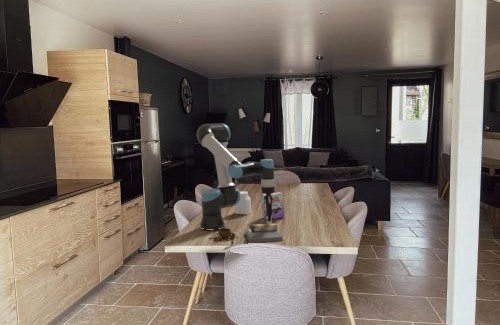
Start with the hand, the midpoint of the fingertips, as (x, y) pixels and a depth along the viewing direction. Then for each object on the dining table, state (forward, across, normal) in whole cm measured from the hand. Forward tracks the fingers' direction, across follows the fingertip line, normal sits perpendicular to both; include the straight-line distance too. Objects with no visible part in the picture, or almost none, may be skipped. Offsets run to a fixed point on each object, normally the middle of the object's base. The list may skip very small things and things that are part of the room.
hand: (269, 226), depth 217 cm
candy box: (+4, +34, -6) cm, 34 cm away
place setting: (+4, -9, +27) cm, 28 cm away
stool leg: (+1, -2, +4) cm, 5 cm away
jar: (+4, +50, +13) cm, 52 cm away
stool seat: (+4, -8, +5) cm, 10 cm away
